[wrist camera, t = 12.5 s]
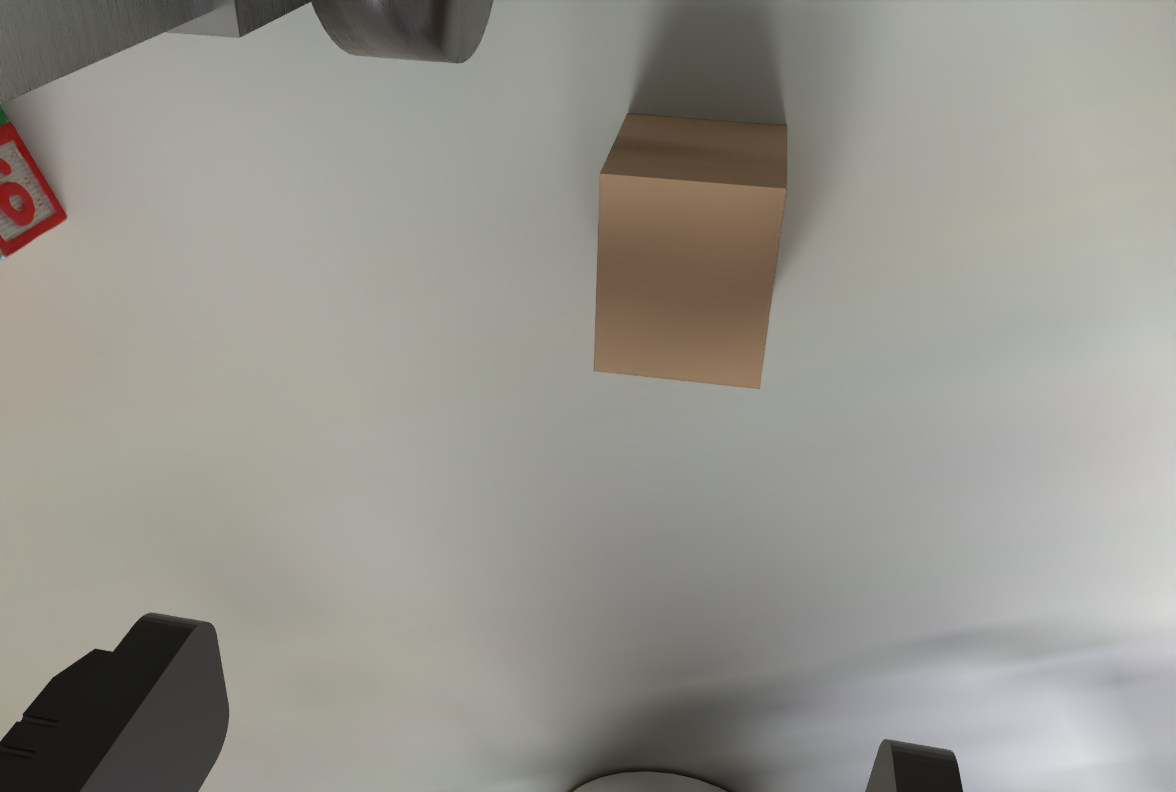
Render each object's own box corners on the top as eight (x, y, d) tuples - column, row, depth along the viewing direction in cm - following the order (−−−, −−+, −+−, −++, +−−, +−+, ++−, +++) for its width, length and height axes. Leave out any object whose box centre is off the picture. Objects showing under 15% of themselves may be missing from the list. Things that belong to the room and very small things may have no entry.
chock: (763, 303, 28) (759, 388, 24) (619, 290, 28) (593, 370, 25) (786, 124, 25) (786, 188, 21) (627, 112, 26) (599, 173, 22)
